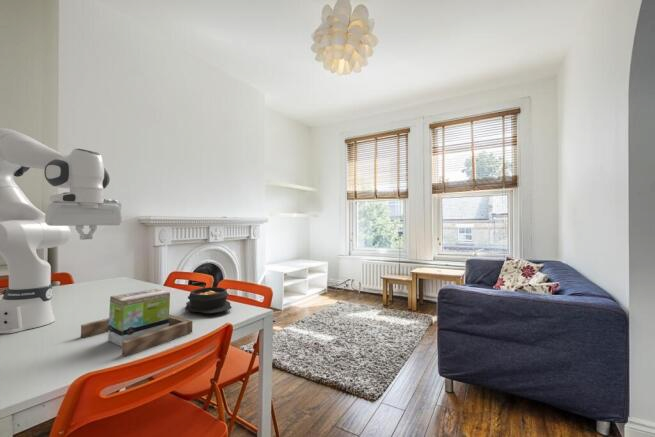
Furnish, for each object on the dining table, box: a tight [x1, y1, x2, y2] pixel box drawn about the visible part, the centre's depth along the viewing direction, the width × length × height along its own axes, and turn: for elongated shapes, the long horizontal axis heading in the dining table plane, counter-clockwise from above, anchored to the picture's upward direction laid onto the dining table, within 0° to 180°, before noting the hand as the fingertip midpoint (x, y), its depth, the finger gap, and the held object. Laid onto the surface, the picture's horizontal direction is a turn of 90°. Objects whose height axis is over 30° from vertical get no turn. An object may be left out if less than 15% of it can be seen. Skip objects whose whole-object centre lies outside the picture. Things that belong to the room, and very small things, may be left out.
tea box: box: [107, 288, 171, 348], centre depth 101 cm, size 15×10×15 cm, turn 148°
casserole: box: [185, 286, 233, 314], centre depth 132 cm, size 25×19×8 cm
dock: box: [80, 314, 194, 358], centre depth 102 cm, size 22×28×4 cm
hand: (86, 239), depth 98 cm, fingers closed
